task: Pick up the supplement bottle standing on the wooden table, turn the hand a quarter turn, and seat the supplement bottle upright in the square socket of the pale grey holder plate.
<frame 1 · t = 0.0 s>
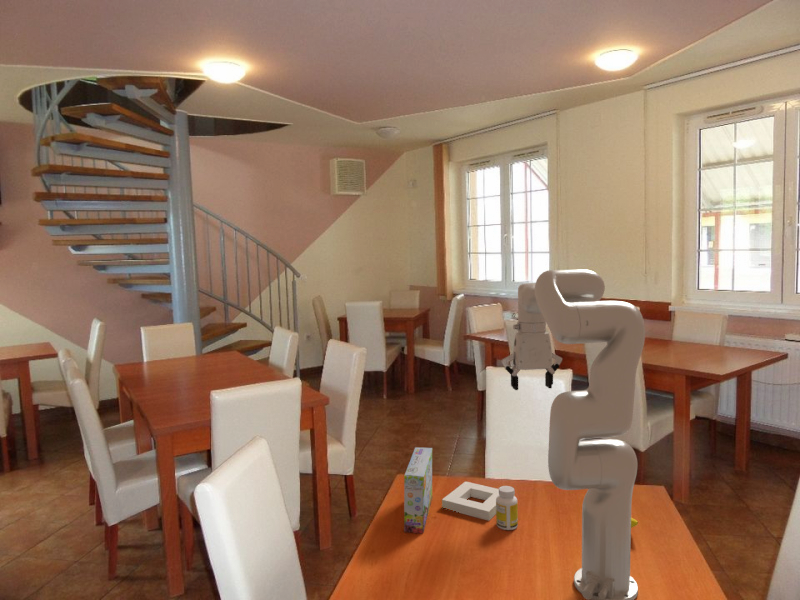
hand: (531, 388, 162), 31 cm above the table, tool pointing down, fingers open, 9 cm apart
supplement bottle: (506, 526, 148), on the table
snack box: (419, 515, 156), on the table
banana: (619, 523, 148), on the table
holder plate: (476, 504, 160), on the table
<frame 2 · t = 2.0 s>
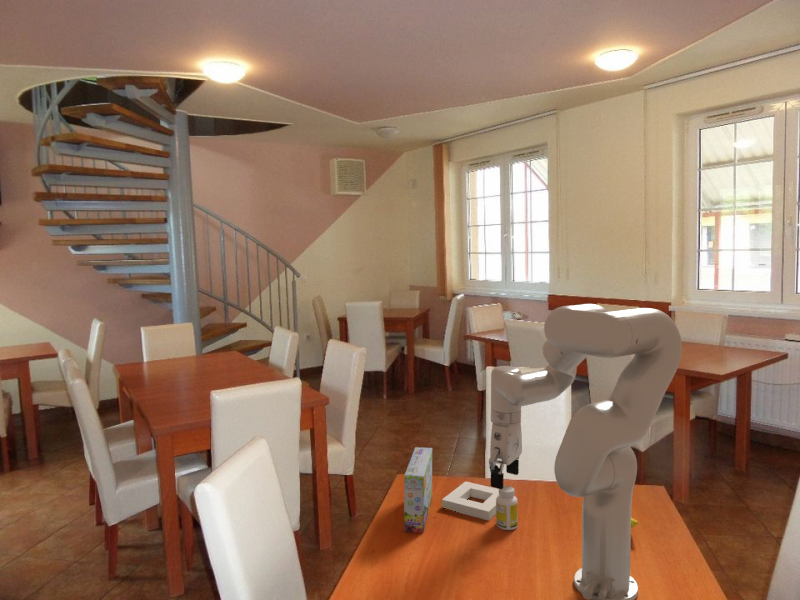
hand: (504, 480, 147), 12 cm above the table, tool pointing down, fingers open, 9 cm apart
nothing on the table moved.
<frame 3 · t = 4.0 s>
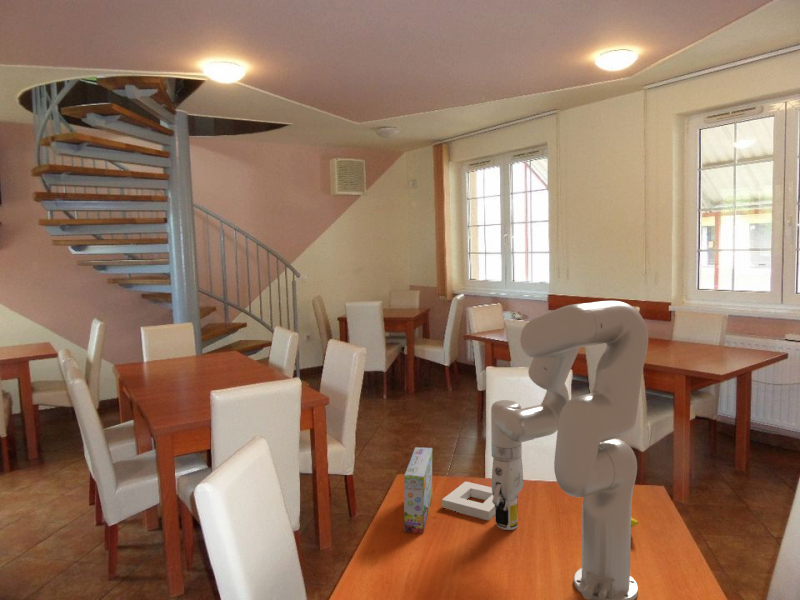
hand: (506, 518, 148), 2 cm above the table, tool pointing down, fingers closed on supplement bottle, 5 cm apart
supplement bottle: (506, 526, 148), on the table, touching gripper
everything else where it was.
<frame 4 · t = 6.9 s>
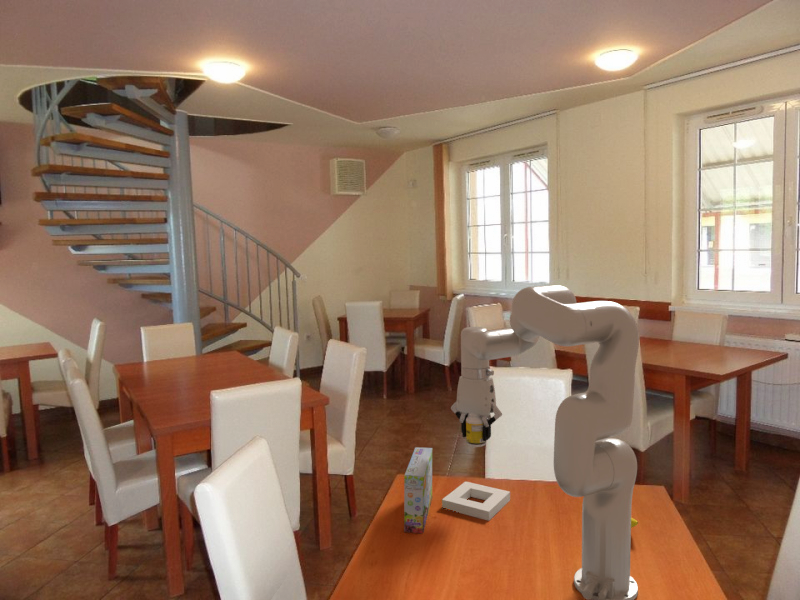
hand: (476, 437, 158), 19 cm above the table, tool pointing down, fingers closed on supplement bottle, 5 cm apart
supplement bottle: (476, 444, 159), point 17 cm above the table, touching gripper
everything else where it was.
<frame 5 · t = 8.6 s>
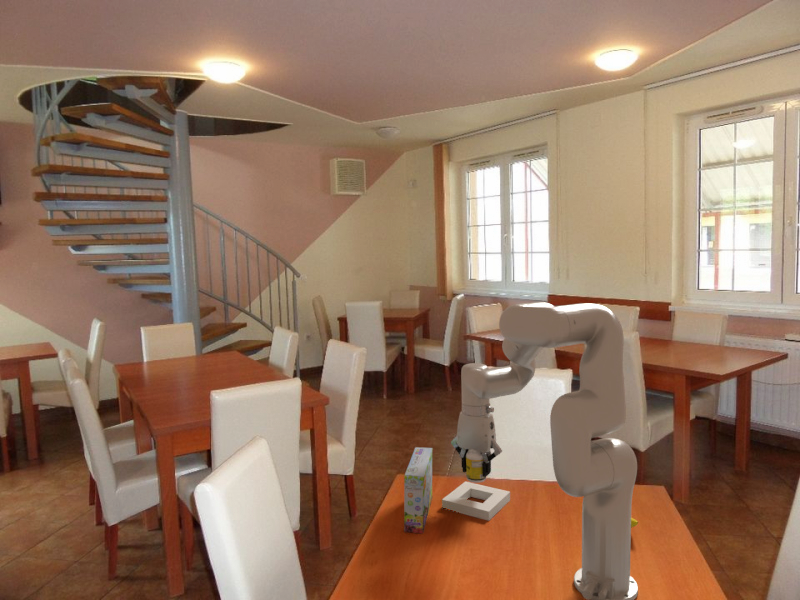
hand: (476, 472, 160), 9 cm above the table, tool pointing down, fingers closed on supplement bottle, 5 cm apart
supplement bottle: (476, 479, 160), point 7 cm above the table, touching gripper
everything else where it was.
when the fingers open (6 cm above the table, at t = 10.1 s): supplement bottle drops 4 cm, resting in holder plate.
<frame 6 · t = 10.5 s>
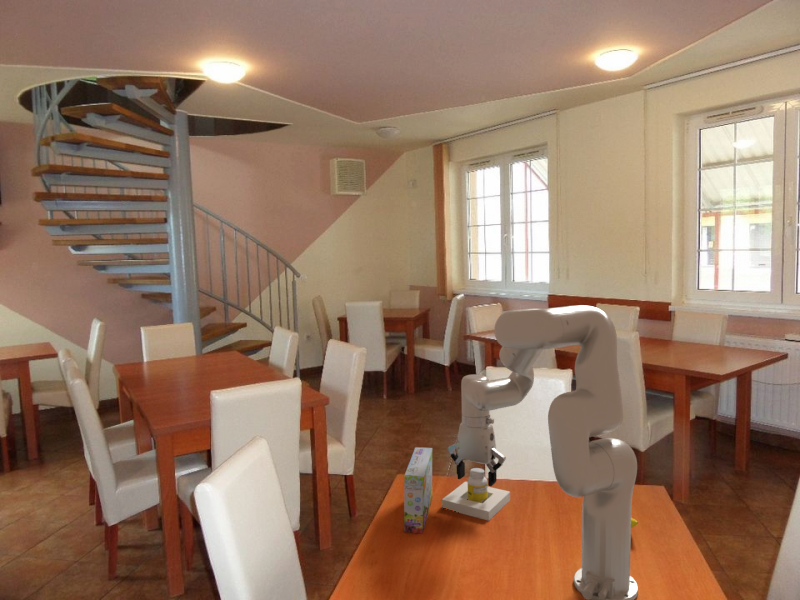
hand: (476, 480, 160), 7 cm above the table, tool pointing down, fingers open, 9 cm apart
supplement bottle: (477, 505, 160), resting in holder plate
everything else where it was.
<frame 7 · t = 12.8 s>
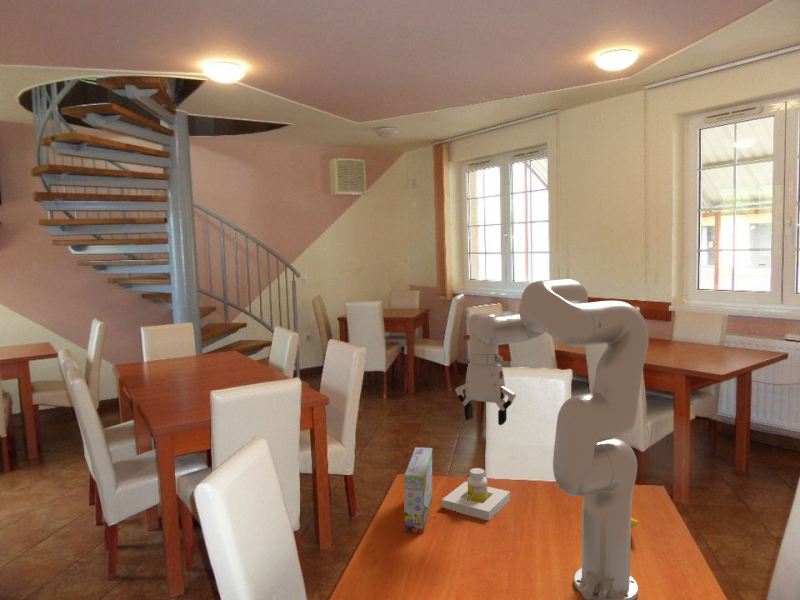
hand: (485, 421, 157), 24 cm above the table, tool pointing down, fingers open, 9 cm apart
nothing on the table moved.
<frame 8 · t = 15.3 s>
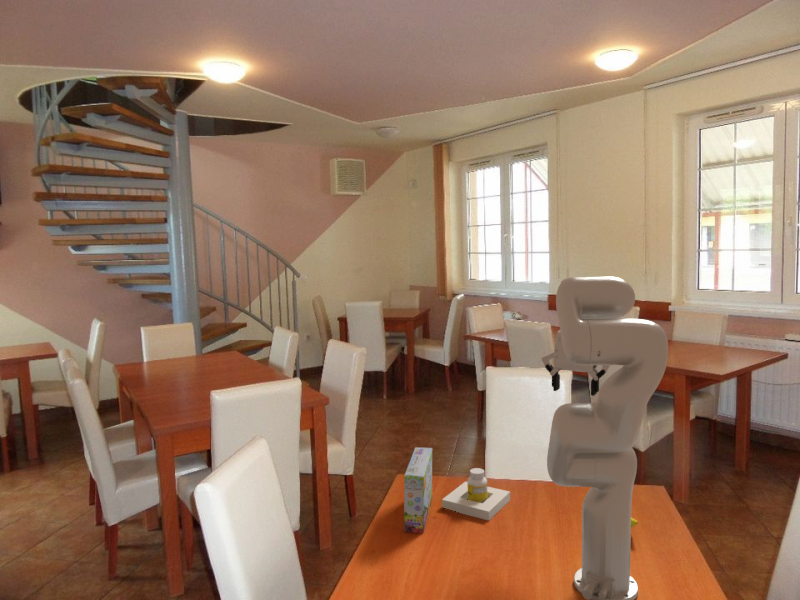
hand: (574, 392, 149), 33 cm above the table, tool pointing down, fingers open, 9 cm apart
nothing on the table moved.
at the end: supplement bottle 0.4 cm off-centre on the holder plate, point 0.0 cm above the holder plate's base; supplement bottle tilted 0°; the gripper is holding nothing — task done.
